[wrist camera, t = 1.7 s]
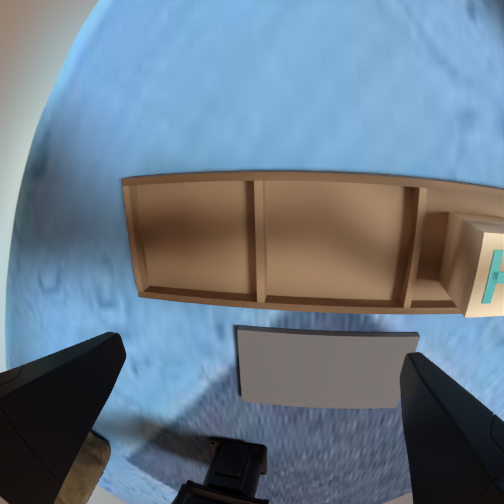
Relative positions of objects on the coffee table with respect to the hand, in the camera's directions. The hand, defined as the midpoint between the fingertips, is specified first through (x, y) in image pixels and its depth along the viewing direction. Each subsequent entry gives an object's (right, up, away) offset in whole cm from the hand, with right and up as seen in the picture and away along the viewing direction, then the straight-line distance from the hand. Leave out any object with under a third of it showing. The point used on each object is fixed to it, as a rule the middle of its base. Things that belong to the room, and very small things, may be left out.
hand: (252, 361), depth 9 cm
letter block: (+15, +3, +9) cm, 18 cm away
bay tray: (+6, +4, +11) cm, 13 cm away
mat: (+6, -6, +15) cm, 17 cm away
